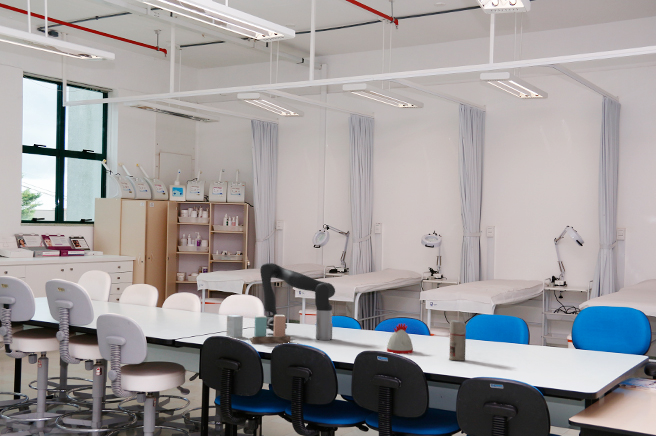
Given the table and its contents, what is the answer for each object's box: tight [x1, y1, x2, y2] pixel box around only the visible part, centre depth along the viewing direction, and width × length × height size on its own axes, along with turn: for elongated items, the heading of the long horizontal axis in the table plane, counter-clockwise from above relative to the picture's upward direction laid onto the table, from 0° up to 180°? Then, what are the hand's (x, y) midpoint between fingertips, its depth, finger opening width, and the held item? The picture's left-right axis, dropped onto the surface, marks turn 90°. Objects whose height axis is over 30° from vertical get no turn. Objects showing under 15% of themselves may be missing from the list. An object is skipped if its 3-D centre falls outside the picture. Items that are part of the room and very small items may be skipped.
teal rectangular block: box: [253, 315, 267, 337], centre depth 367 cm, size 6×5×14 cm
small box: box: [226, 314, 244, 338], centre depth 386 cm, size 8×6×13 cm
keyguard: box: [249, 335, 291, 345], centre depth 371 cm, size 21×15×5 cm
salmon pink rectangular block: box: [272, 314, 287, 336], centre depth 374 cm, size 6×5×14 cm
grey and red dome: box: [386, 323, 414, 355], centre depth 353 cm, size 14×14×15 cm
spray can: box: [448, 319, 467, 361], centre depth 332 cm, size 8×8×20 cm
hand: (278, 328), depth 376 cm, fingers closed
